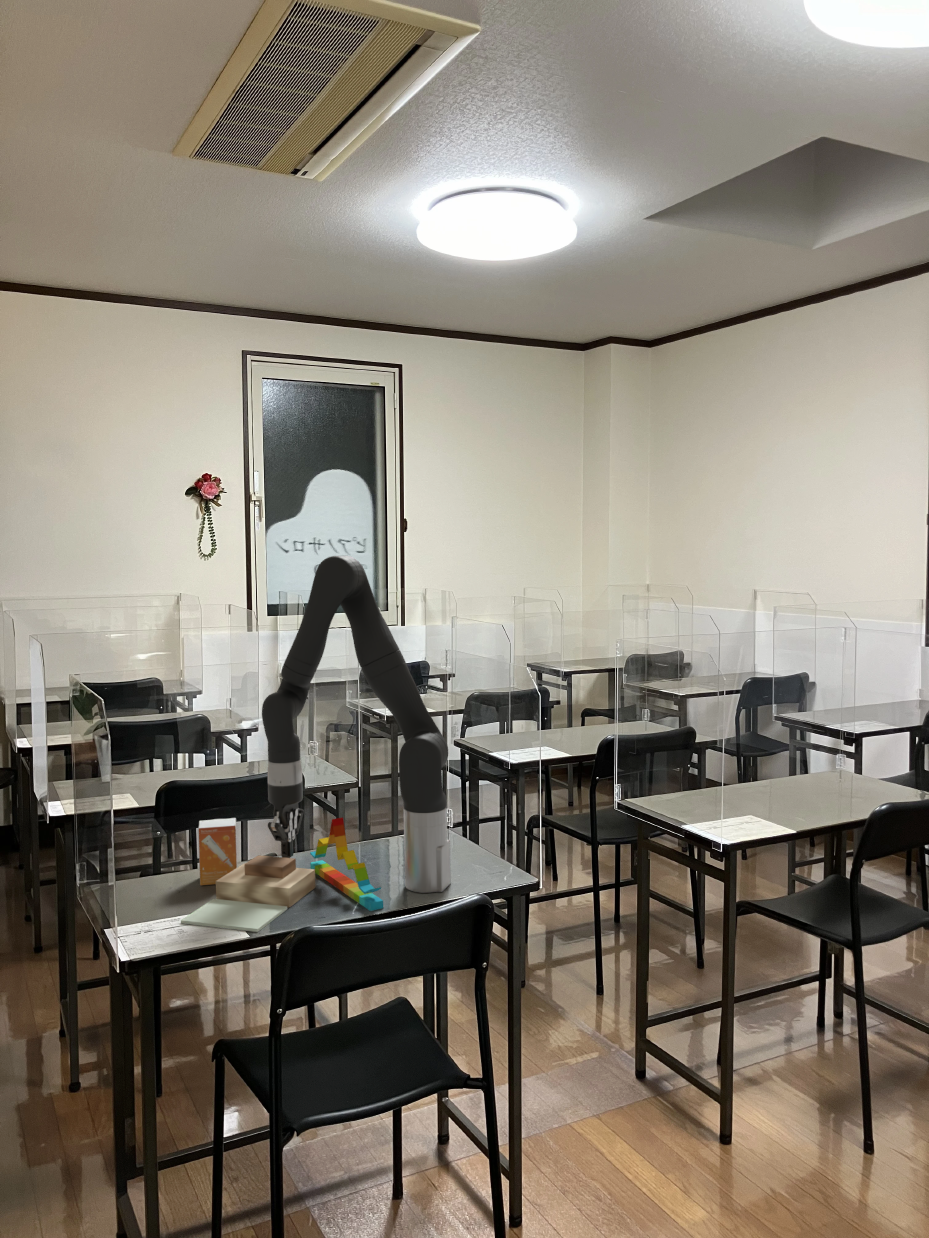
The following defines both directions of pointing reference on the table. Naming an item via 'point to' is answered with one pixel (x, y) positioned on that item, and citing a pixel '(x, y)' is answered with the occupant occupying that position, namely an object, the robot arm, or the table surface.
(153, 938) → the table surface
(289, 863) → the walnut tile
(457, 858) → the table surface
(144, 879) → the table surface
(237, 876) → the birch deck
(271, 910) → the sage mat
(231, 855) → the small box
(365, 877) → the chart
